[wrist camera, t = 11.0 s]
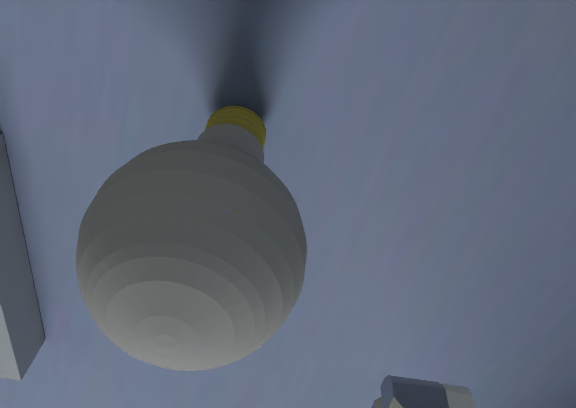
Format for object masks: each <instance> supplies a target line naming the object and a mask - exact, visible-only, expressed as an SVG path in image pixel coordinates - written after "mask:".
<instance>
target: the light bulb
mask: <svg viewBox="0 0 576 408" xmlns="http://www.w3.org/2000/svg"><path fill="white" fill-rule="evenodd" d="M265 139H266V129H265V125H264V123H263V121H262V120H261V118H260V117H259V116H258V115H257V114H256V113H254V112H253V111H252V110H250V109H248V108H245V107H242V106H226V107H223V108H220V109H219V110H217V111H215V112H214V113H213V114H212V115H211V117H210V118H209V120H208V122H207V125H206V129H205V131H204V132H203V133H202V134H201V135H200V136H199V138H198V139H197V140H191V141H181V142H174V143H167V144H164V145H160V146H157V147H154V148H151V149H149V150H147V151H145V152H143V153H141V154H139V155H138V156H136V157H135V158H133V159H132V160H130V161H129V162H128V163H126V164H125V165H123V166H122V167H121V168H119V169H118V170H117V171H115V172H114V173H113V174H112V175H111V176H110V177H109V178H108V179H107V180H106V181H105V182H104V184H103V185H102V187H101V188H100V189H99V191H98V193H97V194H96V196H95V198H94V199H93V201H92V202H91V204H90V206H89V207H88V209H87V211H86V213H85V215H84V217H83V219H82V222H81V225H80V230H79V237H78V244H77V252H76V267H77V275H78V283H79V288H80V292H81V295H82V298H83V300H84V302H85V304H86V306H87V308H88V310H89V312H90V314H91V316H92V318H93V319H94V321H95V323H96V324H97V326H98V327H99V328H100V329H101V331H102V332H103V333H104V334H105V335H106V336H107V337H108V338H109V339H110V340H111V341H112V342H113V343H114V344H115V345H117V346H118V347H119V348H121V349H122V350H124V351H125V352H126V353H128V354H130V355H132V356H133V357H135V358H137V359H139V360H141V361H144V362H147V363H149V364H152V365H155V366H159V367H163V368H167V369H173V370H181V371H200V370H207V369H213V368H217V367H221V366H225V365H228V364H230V363H233V362H235V361H237V360H239V359H241V358H243V357H245V356H246V355H248V354H250V353H252V352H254V351H255V350H257V349H258V348H260V347H261V346H262V345H263V344H265V343H266V342H267V341H268V340H269V339H270V338H271V337H272V335H273V334H274V333H275V332H276V331H277V330H278V329H279V328H280V327H281V325H282V324H283V323H284V322H285V320H286V318H287V317H288V315H289V313H290V311H291V310H292V308H293V306H294V304H295V303H296V301H297V299H298V297H299V294H300V292H301V289H302V285H303V280H304V272H305V264H306V255H307V244H306V236H305V232H304V228H303V224H302V221H301V217H300V214H299V211H298V208H297V205H296V203H295V201H294V199H293V197H292V195H291V194H290V192H289V190H288V189H287V188H286V186H285V185H284V184H283V182H282V181H281V180H280V179H279V178H278V177H277V176H276V175H275V174H274V173H273V172H272V171H271V170H270V169H269V168H268V167H267V166H266V165H265V164H264V152H263V149H264V144H265Z"/></svg>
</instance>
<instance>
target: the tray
mask: <svg viewBox="0 0 576 408" xmlns="http://www.w3.org/2000/svg"><path fill="white" fill-rule="evenodd" d="M44 341H45V335H44V331H43V326H42V321H41V316H40V311H39V306H38V302H37V297H36V292H35V287H34V282H33V278H32V273H31V268H30V263H29V258H28V253H27V249H26V244H25V239H24V234H23V229H22V224H21V220H20V215H19V210H18V205H17V200H16V196H15V191H14V186H13V181H12V176H11V171H10V167H9V162H8V157H7V152H6V147H5V142H4V138H3V134H0V378H7V379H13V380H20V381H21V380H22V378H23V376H24V375H25V373H26V371H27V370H28V368H29V366H30V365H31V363H32V361H33V360H34V358H35V356H36V354H37V353H38V351H39V349H40V348H41V346H42V344H43V343H44Z"/></svg>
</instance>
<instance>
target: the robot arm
mask: <svg viewBox="0 0 576 408" xmlns="http://www.w3.org/2000/svg"><path fill="white" fill-rule="evenodd" d="M372 408H475V404H474V400H473V397H472V393H471V392H470V390H469V389H468V388H467V387H462V386H455V385H448V384H440V383H438V382H433V381H426V380H419V379H411V378H404V377H397V376H390V375H388V376H387V377H385V378H384V380H383V382H382V384H381V397H380V398H378V399H376V400H375V401H374V403H373V405H372Z"/></svg>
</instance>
